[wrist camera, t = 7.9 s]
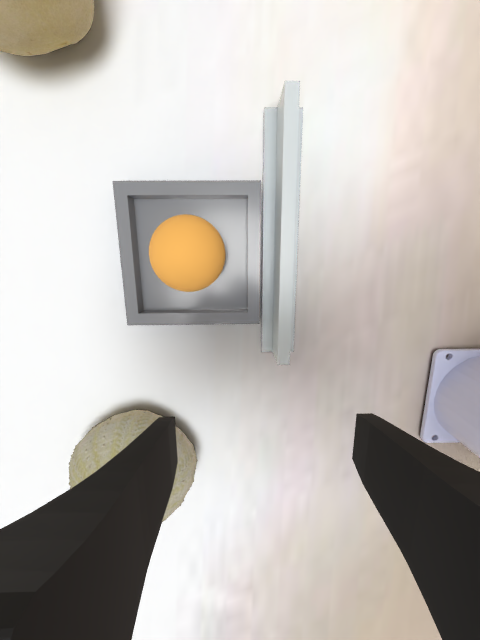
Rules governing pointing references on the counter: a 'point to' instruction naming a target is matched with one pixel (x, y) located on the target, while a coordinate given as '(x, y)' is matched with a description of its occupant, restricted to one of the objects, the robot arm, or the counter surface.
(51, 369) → the counter surface
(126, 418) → the sea urchin shell
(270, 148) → the divider
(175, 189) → the dish
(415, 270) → the counter surface
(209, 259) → the ball
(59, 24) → the potato
